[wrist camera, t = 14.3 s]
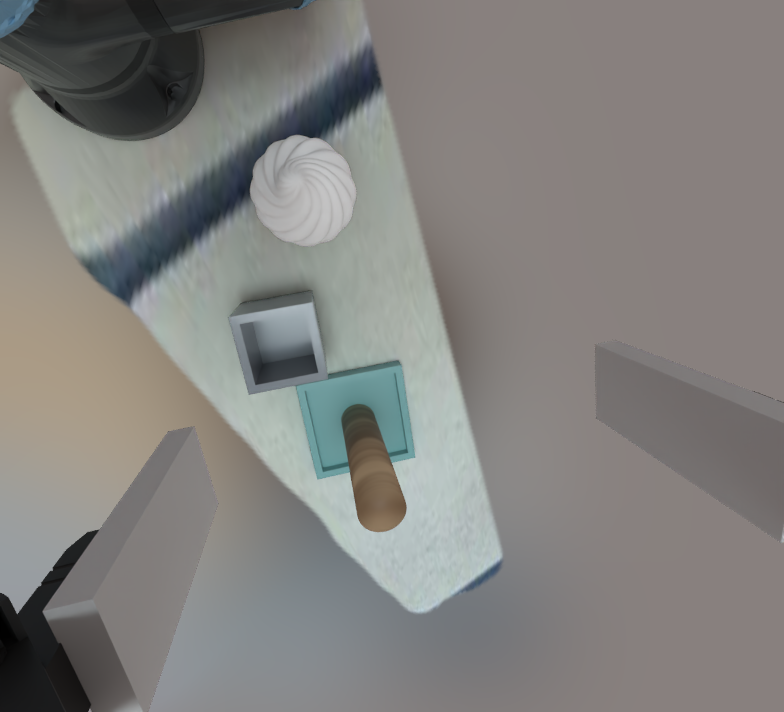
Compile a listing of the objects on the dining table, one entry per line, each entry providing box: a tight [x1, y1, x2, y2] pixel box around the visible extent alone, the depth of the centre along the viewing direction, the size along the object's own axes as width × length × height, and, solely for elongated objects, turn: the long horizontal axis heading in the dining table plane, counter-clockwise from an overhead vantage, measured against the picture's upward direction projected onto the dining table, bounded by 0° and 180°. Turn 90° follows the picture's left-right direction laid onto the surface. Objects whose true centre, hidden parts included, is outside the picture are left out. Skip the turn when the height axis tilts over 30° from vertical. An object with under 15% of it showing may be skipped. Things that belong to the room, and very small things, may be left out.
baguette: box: [341, 404, 406, 532], centre depth 45 cm, size 4×4×18 cm
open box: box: [228, 291, 328, 395], centre depth 46 cm, size 8×8×8 cm
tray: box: [296, 361, 415, 479], centre depth 53 cm, size 12×12×2 cm
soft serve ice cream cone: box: [250, 135, 357, 247], centre depth 39 cm, size 8×8×16 cm
